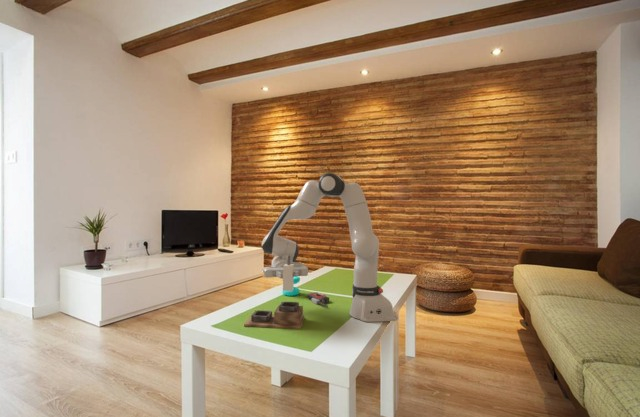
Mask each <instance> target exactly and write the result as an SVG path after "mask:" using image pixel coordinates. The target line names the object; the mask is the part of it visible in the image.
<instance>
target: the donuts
mask: <svg viewBox="0 0 640 417" xmlns="http://www.w3.org/2000/svg"><path fill="white" fill-rule="evenodd" d="M300 281H301V278H300V276H297V277H294V282H293V285H296V284H298V283H300ZM300 293H301V292H300V289H299V288H298V287H297V286H293V290H292V291H283V290H282V294H283V295H285V296H287V297H294V296H298V295H299V294H300Z"/></svg>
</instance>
